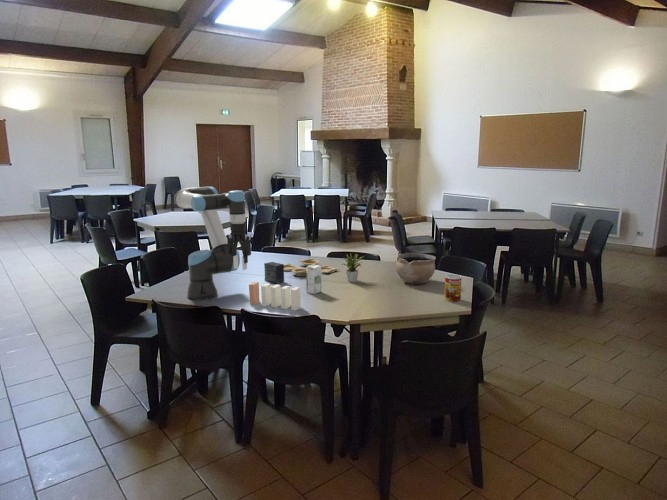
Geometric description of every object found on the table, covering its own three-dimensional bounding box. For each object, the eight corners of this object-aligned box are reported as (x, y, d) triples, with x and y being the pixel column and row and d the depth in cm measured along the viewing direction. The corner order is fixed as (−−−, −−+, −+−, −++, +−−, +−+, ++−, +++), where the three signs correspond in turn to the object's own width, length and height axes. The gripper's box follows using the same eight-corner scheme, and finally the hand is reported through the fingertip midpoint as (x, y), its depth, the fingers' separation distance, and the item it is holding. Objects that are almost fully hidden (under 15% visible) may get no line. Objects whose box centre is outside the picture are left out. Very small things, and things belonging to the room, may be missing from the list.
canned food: (450, 303, 242) (451, 279, 240) (441, 299, 249) (441, 275, 247) (463, 301, 245) (464, 277, 243) (454, 296, 252) (454, 274, 250)
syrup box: (313, 290, 267) (313, 263, 264) (321, 292, 264) (321, 265, 261) (306, 292, 263) (305, 266, 260) (314, 294, 259) (314, 267, 256)
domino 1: (249, 304, 246) (248, 284, 244) (255, 301, 250) (254, 281, 248) (254, 304, 245) (253, 285, 243) (259, 301, 249) (258, 282, 247)
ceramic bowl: (387, 282, 280) (387, 256, 276) (409, 275, 295) (410, 250, 292) (421, 290, 265) (421, 262, 262) (442, 281, 280) (443, 255, 277)
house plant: (363, 285, 275) (363, 256, 271) (338, 284, 277) (338, 255, 274) (366, 278, 288) (366, 251, 285) (343, 277, 291) (342, 250, 288)
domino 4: (281, 308, 238) (280, 288, 236) (286, 305, 243) (285, 285, 241) (285, 309, 237) (284, 288, 235) (290, 305, 242) (290, 286, 240)
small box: (285, 281, 285) (284, 263, 283) (276, 284, 280) (275, 266, 278) (273, 278, 292) (272, 261, 290) (264, 280, 287) (263, 263, 285)
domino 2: (261, 305, 243) (261, 285, 241) (267, 302, 247) (266, 283, 245) (266, 306, 242) (265, 286, 240) (271, 303, 246) (270, 283, 244)
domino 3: (271, 307, 241) (270, 287, 239) (276, 304, 245) (276, 284, 243) (275, 307, 240) (275, 287, 238) (281, 304, 244) (280, 285, 242)
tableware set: (342, 272, 304) (341, 266, 304) (300, 280, 288) (300, 273, 288) (311, 262, 333) (311, 256, 332) (272, 268, 317) (272, 262, 316)
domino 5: (291, 309, 236) (290, 289, 234) (296, 306, 241) (295, 286, 238) (295, 310, 235) (295, 290, 233) (300, 307, 240) (300, 287, 237)
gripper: (218, 222, 243) (221, 269, 247) (248, 224, 235) (251, 272, 240) (227, 220, 249) (230, 265, 254) (257, 222, 242) (259, 268, 247)
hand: (240, 268), depth 247 cm, fingers open, 4 cm apart
